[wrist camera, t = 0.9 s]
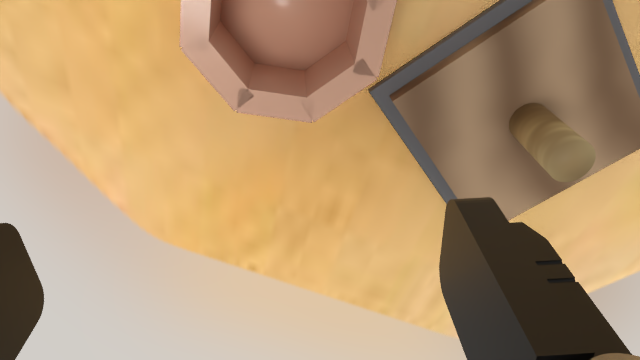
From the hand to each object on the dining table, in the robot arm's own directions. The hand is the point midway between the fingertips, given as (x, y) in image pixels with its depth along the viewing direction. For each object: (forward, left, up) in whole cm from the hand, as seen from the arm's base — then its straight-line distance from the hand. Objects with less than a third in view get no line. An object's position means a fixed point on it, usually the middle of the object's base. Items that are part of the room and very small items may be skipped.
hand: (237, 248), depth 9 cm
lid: (-10, +16, -24) cm, 31 cm away
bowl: (-1, 0, -25) cm, 25 cm away
